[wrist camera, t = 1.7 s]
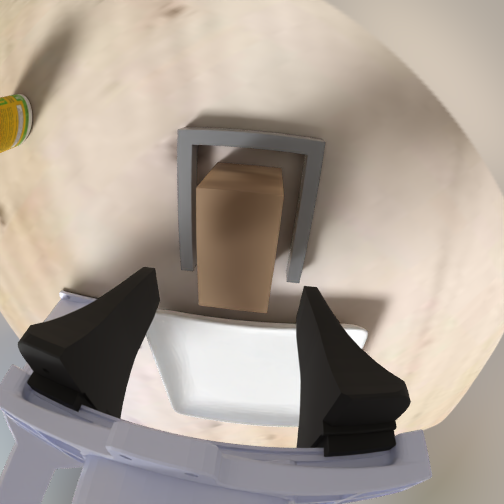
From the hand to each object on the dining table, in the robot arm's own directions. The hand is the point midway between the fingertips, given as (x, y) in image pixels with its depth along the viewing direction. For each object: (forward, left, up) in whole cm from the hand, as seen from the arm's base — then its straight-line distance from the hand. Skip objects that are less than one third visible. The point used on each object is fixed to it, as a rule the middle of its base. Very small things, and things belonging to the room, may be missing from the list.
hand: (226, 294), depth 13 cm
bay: (0, 0, -9) cm, 9 cm away
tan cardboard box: (0, 0, -9) cm, 9 cm away
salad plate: (+2, -19, -10) cm, 21 cm away
